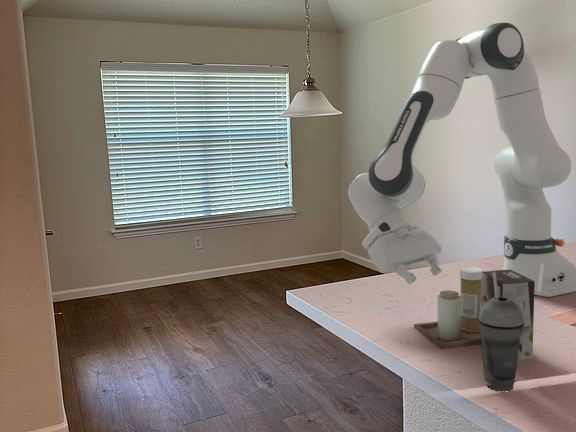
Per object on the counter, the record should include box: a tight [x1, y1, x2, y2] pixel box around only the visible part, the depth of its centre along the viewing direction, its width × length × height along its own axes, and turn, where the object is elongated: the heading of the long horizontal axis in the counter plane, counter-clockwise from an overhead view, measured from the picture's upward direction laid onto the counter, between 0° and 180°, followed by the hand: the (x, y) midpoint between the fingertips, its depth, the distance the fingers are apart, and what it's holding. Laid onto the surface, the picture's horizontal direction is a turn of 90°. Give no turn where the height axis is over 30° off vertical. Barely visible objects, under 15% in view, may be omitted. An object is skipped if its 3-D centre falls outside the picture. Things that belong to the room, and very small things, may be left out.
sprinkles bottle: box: [459, 266, 484, 333], centre depth 111 cm, size 5×5×14 cm
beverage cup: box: [478, 270, 524, 393], centre depth 88 cm, size 7×7×20 cm
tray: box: [413, 320, 481, 350], centre depth 111 cm, size 16×12×2 cm
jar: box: [437, 290, 461, 342], centre depth 107 cm, size 5×5×10 cm
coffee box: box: [480, 269, 535, 363], centre depth 100 cm, size 9×6×16 cm
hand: (425, 277), depth 120 cm, fingers open, 8 cm apart
